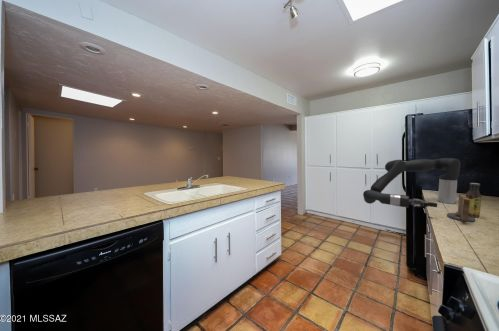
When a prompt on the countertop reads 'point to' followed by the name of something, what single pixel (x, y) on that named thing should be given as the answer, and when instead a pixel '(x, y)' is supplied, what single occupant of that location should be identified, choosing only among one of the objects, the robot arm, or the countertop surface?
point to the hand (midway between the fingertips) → (437, 205)
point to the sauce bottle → (474, 200)
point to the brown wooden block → (463, 207)
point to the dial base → (455, 217)
